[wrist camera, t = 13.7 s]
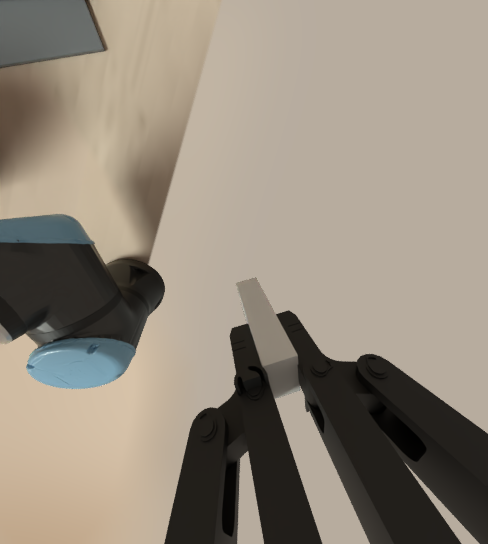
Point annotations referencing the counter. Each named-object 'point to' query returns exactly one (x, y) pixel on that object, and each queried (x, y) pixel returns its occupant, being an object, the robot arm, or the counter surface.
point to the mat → (45, 31)
